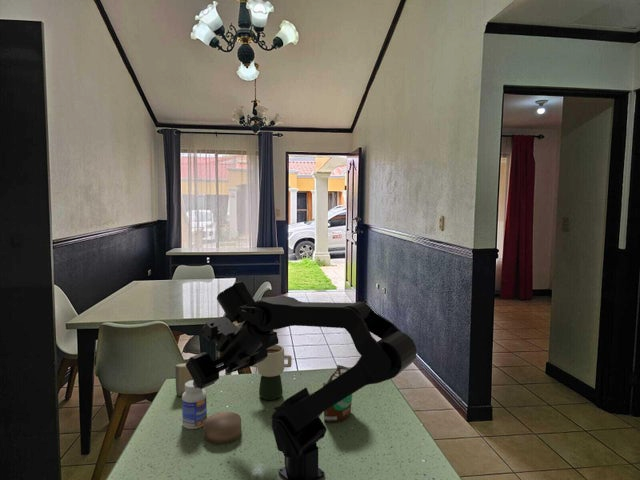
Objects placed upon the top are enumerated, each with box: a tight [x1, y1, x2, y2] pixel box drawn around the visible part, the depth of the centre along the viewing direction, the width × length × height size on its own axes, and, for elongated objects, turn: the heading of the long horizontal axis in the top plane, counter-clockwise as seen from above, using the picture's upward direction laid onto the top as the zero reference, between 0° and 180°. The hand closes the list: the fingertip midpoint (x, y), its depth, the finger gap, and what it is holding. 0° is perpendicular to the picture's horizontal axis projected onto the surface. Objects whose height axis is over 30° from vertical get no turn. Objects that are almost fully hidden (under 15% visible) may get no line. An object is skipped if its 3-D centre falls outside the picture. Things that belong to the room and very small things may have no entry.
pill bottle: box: [181, 380, 208, 430], centre depth 96 cm, size 5×5×10 cm
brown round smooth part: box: [203, 411, 242, 445], centre depth 93 cm, size 8×8×3 cm
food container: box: [322, 364, 353, 424], centre depth 101 cm, size 12×6×10 cm, turn 161°
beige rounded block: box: [175, 362, 193, 397], centre depth 112 cm, size 6×5×8 cm
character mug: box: [250, 344, 293, 401], centre depth 110 cm, size 11×7×13 cm, turn 90°
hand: (211, 378), depth 92 cm, fingers open, 9 cm apart
